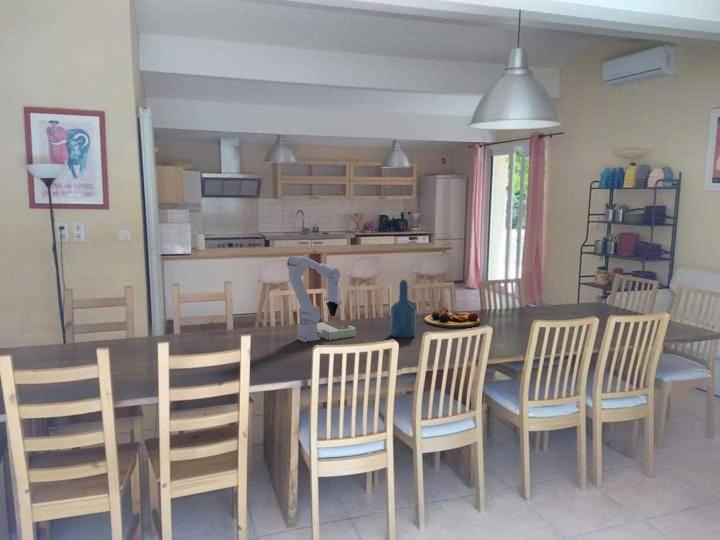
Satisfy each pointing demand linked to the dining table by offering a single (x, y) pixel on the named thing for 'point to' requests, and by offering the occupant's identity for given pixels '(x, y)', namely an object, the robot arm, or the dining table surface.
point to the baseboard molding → (324, 327)
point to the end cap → (339, 333)
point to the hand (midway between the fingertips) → (332, 315)
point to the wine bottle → (403, 315)
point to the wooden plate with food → (452, 319)
